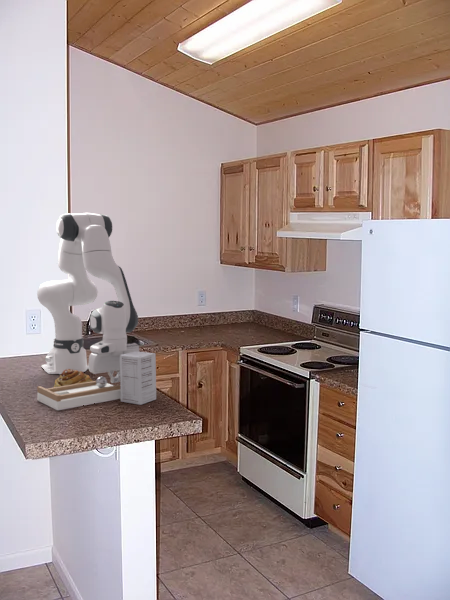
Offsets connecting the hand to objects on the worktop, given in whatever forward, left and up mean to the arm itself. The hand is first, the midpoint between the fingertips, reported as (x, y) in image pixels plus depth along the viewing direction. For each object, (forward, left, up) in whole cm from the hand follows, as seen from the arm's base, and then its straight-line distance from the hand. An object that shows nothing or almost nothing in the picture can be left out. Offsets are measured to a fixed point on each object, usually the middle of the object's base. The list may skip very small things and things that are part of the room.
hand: (115, 382), depth 235 cm
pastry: (-16, -8, -5) cm, 19 cm away
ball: (0, -6, +1) cm, 6 cm away
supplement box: (+14, +1, -4) cm, 15 cm away
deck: (0, -14, -4) cm, 14 cm away
